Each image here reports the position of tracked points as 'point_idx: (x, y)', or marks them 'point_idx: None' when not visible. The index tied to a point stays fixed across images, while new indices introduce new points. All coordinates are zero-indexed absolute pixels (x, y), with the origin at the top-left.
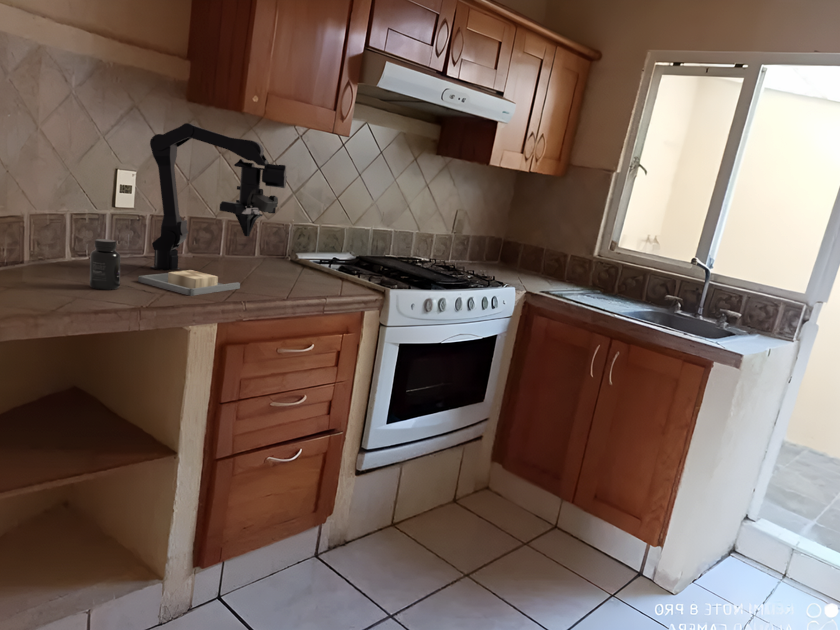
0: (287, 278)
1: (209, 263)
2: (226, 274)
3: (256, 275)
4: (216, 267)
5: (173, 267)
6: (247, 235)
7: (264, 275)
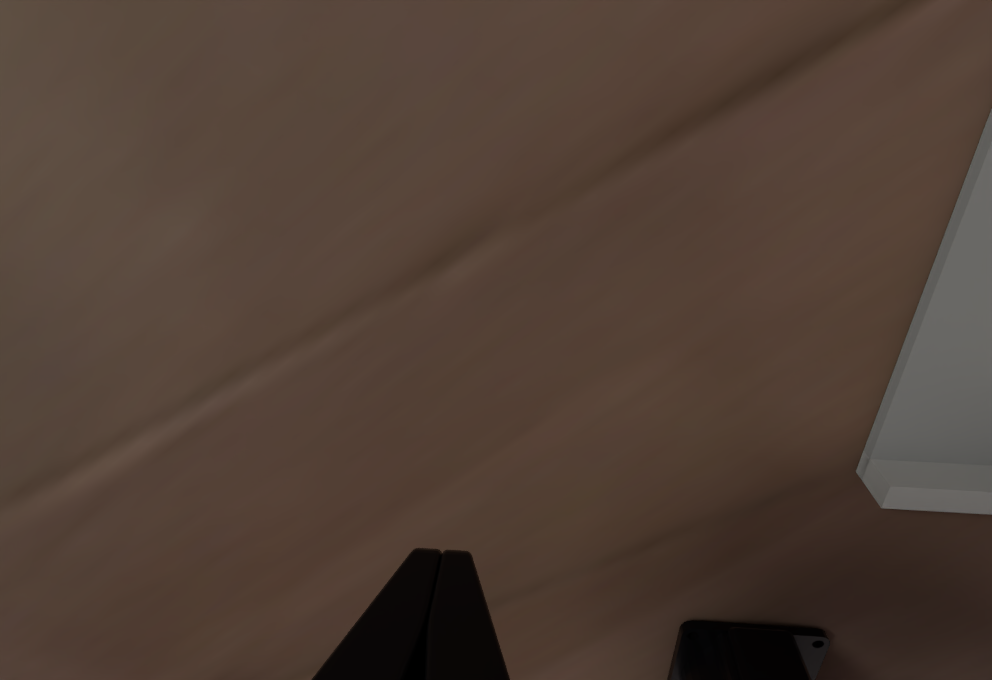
0: (57, 25)
1: None
2: (505, 420)
3: (286, 283)
4: (374, 586)
5: (775, 640)
6: (461, 559)
7: (210, 248)
